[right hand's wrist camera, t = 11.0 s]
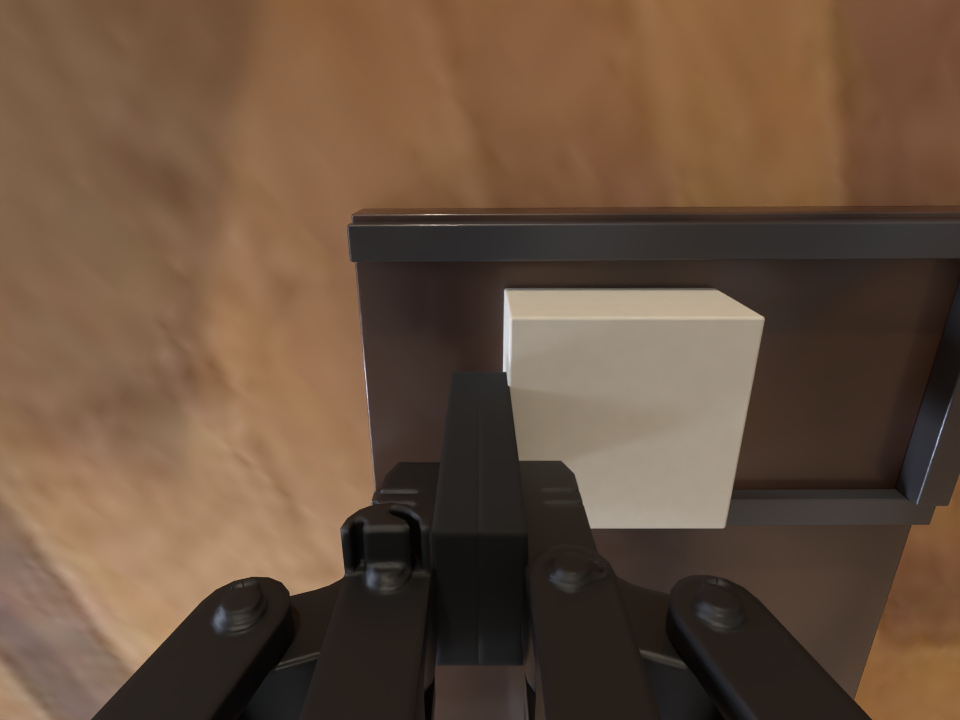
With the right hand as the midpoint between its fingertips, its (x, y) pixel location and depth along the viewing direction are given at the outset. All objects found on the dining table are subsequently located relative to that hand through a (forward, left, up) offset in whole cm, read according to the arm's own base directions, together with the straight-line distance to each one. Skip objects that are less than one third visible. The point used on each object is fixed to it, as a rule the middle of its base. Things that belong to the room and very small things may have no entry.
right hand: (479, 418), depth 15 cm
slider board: (+5, -11, -4) cm, 13 cm away
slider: (+4, 0, -2) cm, 4 cm away
